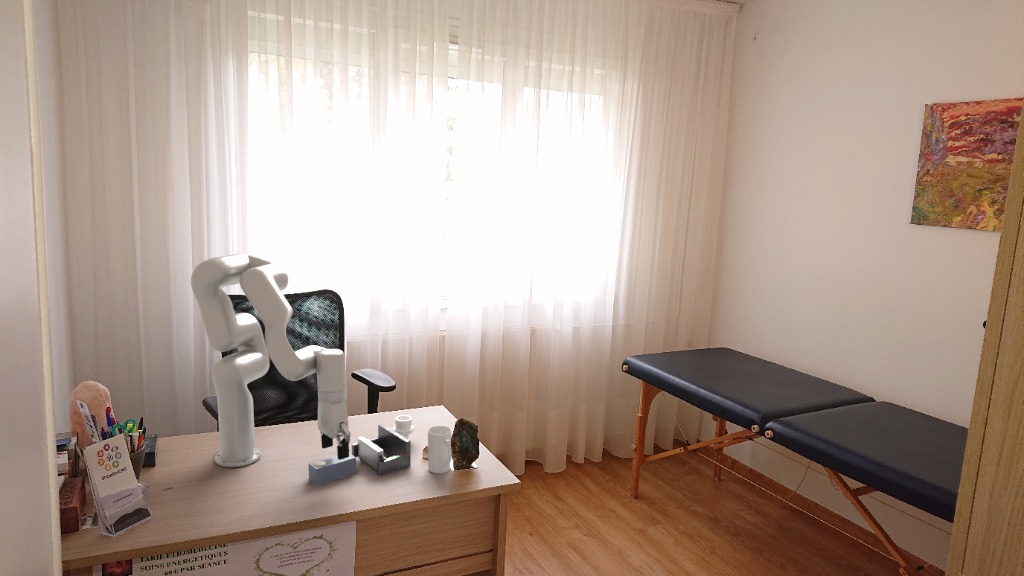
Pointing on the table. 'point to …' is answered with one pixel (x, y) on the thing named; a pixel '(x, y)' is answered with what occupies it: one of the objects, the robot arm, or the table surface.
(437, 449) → the mug
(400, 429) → the pipe fitting
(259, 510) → the table surface
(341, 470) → the block
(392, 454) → the gauge frame
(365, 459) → the anvil plate
